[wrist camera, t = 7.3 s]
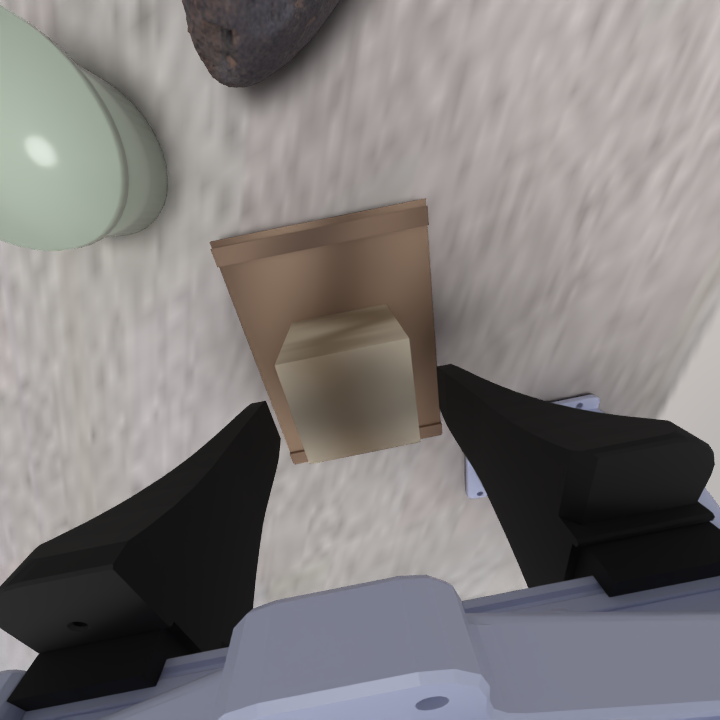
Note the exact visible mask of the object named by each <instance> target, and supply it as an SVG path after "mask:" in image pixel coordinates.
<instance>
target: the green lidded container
mask: <svg viewBox="0 0 720 720" xmlns="http://www.w3.org/2000/svg"><path fill="white" fill-rule="evenodd" d="M167 187H168V178H167V169H166V164H165V160H164V156H163V153H162V150H161V148H160V145H159V143H158V141H157V139H156V137H155V135H154V133H153V131H152V129H151V128H150V126H149V124H148V123H147V121H146V120H145V119H144V117H143V116H142V115H141V113H140V112H139V111H138V110H137V108H136V107H135V106H134V105H133V104H132V103H131V102H130V101H129V100H128V99H127V98H126V97H125V96H124V95H123V94H122V93H121V92H119V91H118V90H117V89H116V88H114V87H113V86H112V85H110V84H109V83H107V82H106V81H104V80H102V79H101V78H99V77H97V76H96V75H94V74H92V73H91V72H89V71H87V70H86V69H84V68H82V67H81V66H79V65H77V64H76V63H74V62H73V60H72V59H71V58H70V57H69V56H68V55H67V54H66V53H65V52H64V51H63V50H62V49H61V48H60V47H59V46H57V45H56V44H55V43H54V42H53V41H52V40H51V39H50V38H48V37H47V36H46V35H45V34H43V33H42V32H41V31H39V30H38V29H37V28H35V27H34V26H33V25H31V24H30V23H28V22H27V21H25V20H23V19H22V18H20V17H19V16H17V15H16V14H14V13H12V12H11V11H9V10H8V9H6V8H4V7H3V6H1V5H0V240H1V241H4V242H7V243H10V244H13V245H16V246H20V247H24V248H28V249H34V250H43V251H60V250H68V249H75V248H81V247H85V246H88V245H91V244H93V243H95V242H97V241H99V240H101V239H102V238H104V237H112V236H123V235H129V234H133V233H136V232H139V231H141V230H143V229H145V228H146V227H148V226H149V225H150V224H152V222H153V221H154V220H155V219H156V218H157V217H158V215H159V214H160V212H161V210H162V208H163V206H164V203H165V199H166V196H167Z"/></svg>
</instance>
